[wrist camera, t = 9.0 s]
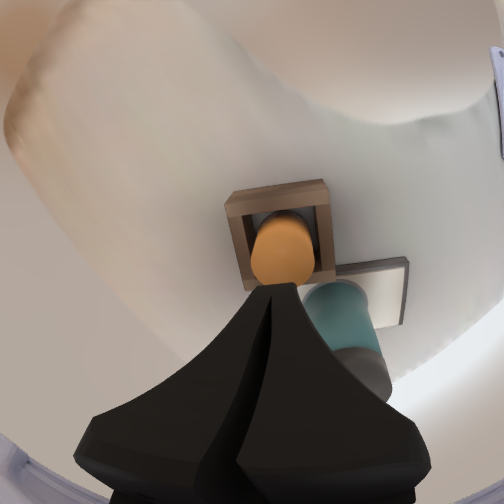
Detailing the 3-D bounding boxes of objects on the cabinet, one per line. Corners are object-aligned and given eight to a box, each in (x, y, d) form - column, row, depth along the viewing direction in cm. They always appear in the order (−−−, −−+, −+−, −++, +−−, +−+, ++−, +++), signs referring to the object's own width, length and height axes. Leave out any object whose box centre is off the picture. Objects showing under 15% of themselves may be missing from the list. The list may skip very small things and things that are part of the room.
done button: (306, 208, 14) (311, 229, 12) (312, 256, 15) (317, 286, 13) (253, 215, 15) (244, 238, 12) (262, 262, 16) (257, 293, 13)
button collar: (322, 178, 15) (328, 189, 13) (330, 259, 17) (336, 281, 15) (233, 191, 16) (224, 204, 14) (250, 268, 18) (244, 291, 16)
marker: (365, 277, 16) (398, 364, 10) (364, 328, 18) (385, 414, 12) (298, 286, 17) (301, 379, 11) (305, 336, 19) (307, 425, 12)
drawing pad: (405, 256, 16) (411, 264, 15) (399, 317, 18) (403, 326, 17) (252, 275, 18) (250, 285, 17) (265, 333, 20) (263, 344, 19)
